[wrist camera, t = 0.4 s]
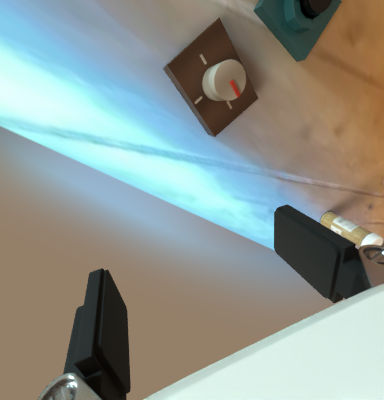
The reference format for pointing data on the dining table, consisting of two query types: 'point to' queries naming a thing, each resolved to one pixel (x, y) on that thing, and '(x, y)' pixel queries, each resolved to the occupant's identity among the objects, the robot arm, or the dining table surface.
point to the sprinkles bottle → (350, 230)
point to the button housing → (294, 24)
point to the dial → (224, 81)
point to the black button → (314, 7)
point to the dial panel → (194, 72)
